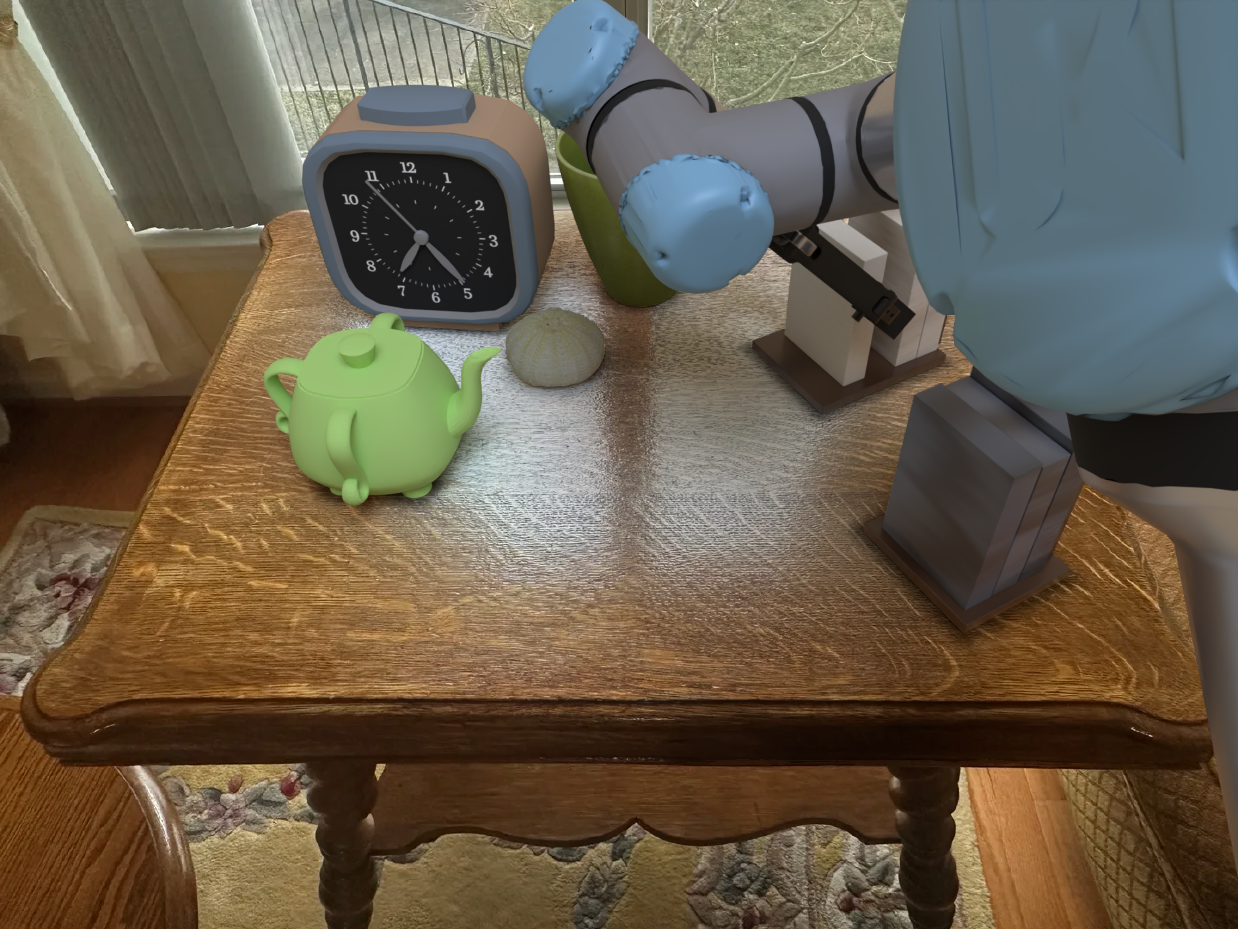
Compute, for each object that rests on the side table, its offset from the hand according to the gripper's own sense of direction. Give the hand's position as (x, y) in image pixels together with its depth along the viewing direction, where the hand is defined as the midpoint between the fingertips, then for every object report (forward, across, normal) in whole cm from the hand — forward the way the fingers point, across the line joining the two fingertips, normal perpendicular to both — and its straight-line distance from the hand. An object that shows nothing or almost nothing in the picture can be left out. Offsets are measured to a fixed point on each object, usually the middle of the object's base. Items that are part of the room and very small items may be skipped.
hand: (850, 285), depth 82 cm
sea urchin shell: (-10, -13, -22) cm, 28 cm away
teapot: (-22, -8, -34) cm, 42 cm away
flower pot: (-1, -20, -13) cm, 24 cm away
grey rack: (+1, +23, -10) cm, 26 cm away
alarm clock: (-14, -27, -26) cm, 40 cm away
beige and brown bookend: (+7, 0, -5) cm, 8 cm away
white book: (+4, 0, -6) cm, 8 cm away
